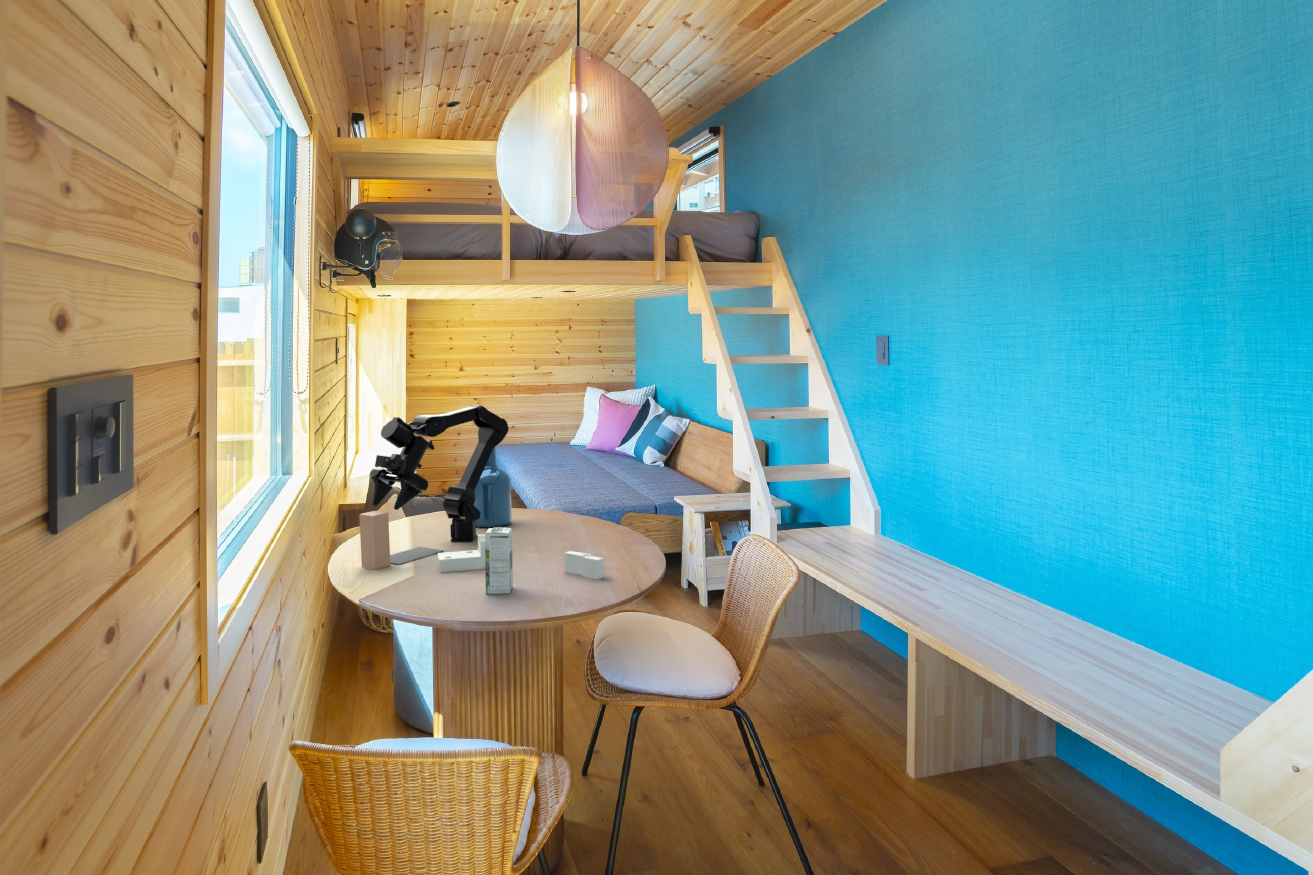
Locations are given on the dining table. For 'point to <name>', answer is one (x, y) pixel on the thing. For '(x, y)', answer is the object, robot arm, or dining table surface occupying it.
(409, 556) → the mat
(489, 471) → the blue bottle
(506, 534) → the syrup box
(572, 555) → the white stepped block
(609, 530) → the dining table surface
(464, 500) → the robot arm
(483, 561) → the bracket
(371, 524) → the terracotta block
